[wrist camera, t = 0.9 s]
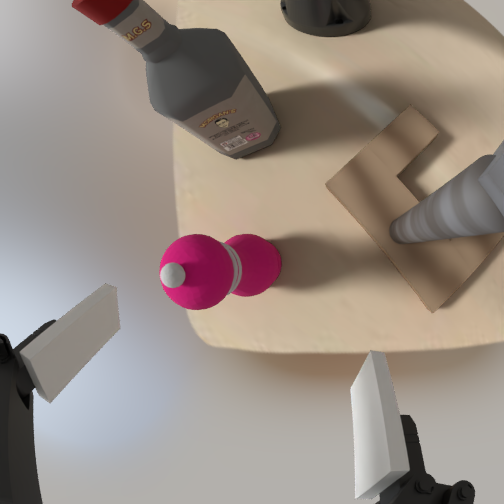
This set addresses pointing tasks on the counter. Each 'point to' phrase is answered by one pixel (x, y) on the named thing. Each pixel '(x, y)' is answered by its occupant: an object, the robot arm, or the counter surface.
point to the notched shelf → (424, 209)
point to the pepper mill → (217, 269)
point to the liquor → (193, 77)
